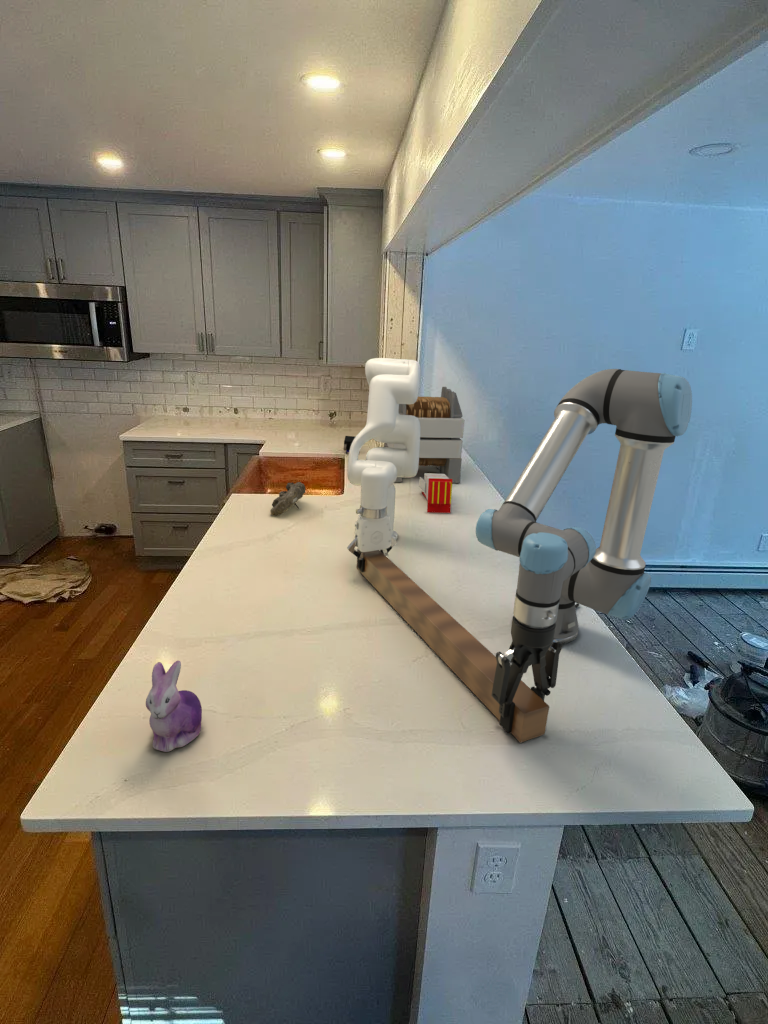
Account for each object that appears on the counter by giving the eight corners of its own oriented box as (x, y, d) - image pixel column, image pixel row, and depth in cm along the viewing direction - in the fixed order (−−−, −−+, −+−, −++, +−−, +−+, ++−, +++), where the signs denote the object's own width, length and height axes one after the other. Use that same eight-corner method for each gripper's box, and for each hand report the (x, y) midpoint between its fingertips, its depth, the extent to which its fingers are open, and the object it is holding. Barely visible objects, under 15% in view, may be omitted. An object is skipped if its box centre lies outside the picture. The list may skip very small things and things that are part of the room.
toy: (446, 469, 247) (456, 480, 217) (444, 499, 249) (454, 514, 220) (418, 468, 246) (425, 479, 217) (416, 499, 249) (423, 513, 219)
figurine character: (355, 457, 303) (356, 447, 317) (355, 444, 300) (356, 434, 313) (342, 457, 303) (344, 447, 316) (343, 443, 300) (344, 434, 313)
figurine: (153, 762, 97) (144, 689, 92) (146, 724, 105) (138, 655, 100) (210, 745, 101) (204, 674, 96) (199, 710, 109) (193, 643, 104)
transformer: (382, 463, 289) (386, 382, 275) (445, 464, 293) (451, 384, 279) (390, 482, 257) (394, 392, 243) (460, 483, 261) (468, 394, 247)
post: (356, 568, 170) (357, 548, 168) (374, 565, 172) (374, 545, 170) (520, 743, 104) (524, 714, 102) (544, 734, 107) (549, 706, 105)
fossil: (276, 488, 229) (303, 468, 224) (291, 505, 232) (319, 486, 227) (260, 511, 209) (290, 490, 204) (277, 530, 212) (307, 510, 207)
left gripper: (350, 519, 154) (349, 578, 160) (406, 512, 161) (403, 569, 167) (340, 510, 160) (339, 567, 167) (394, 503, 167) (392, 559, 174)
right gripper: (503, 640, 94) (490, 751, 102) (589, 618, 102) (570, 722, 110) (478, 618, 100) (467, 724, 108) (560, 599, 108) (544, 698, 116)
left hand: (371, 567), depth 167 cm, fingers closed on post, 5 cm apart
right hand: (519, 723), depth 109 cm, fingers closed on post, 6 cm apart
